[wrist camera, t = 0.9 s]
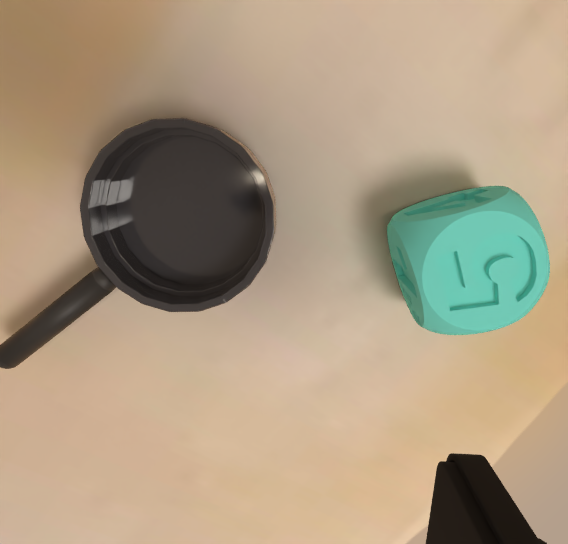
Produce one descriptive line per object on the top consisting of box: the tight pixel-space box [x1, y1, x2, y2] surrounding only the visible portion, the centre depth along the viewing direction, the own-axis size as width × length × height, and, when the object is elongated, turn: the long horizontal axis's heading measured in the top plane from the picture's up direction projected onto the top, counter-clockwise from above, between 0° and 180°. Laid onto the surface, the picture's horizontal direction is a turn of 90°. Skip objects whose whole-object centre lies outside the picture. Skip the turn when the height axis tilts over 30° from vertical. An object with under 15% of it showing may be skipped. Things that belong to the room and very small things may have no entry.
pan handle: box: [0, 267, 116, 369], centre depth 33 cm, size 12×2×2 cm, turn 127°
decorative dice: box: [387, 186, 550, 335], centre depth 31 cm, size 8×8×8 cm
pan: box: [80, 118, 276, 312], centre depth 32 cm, size 13×13×4 cm
